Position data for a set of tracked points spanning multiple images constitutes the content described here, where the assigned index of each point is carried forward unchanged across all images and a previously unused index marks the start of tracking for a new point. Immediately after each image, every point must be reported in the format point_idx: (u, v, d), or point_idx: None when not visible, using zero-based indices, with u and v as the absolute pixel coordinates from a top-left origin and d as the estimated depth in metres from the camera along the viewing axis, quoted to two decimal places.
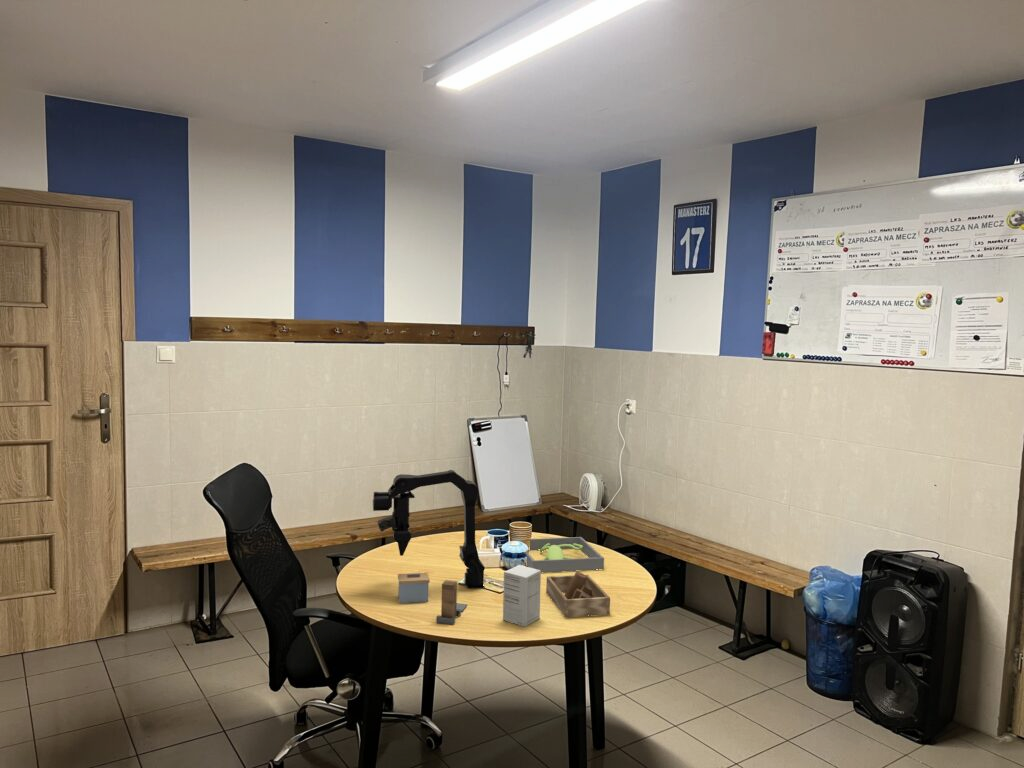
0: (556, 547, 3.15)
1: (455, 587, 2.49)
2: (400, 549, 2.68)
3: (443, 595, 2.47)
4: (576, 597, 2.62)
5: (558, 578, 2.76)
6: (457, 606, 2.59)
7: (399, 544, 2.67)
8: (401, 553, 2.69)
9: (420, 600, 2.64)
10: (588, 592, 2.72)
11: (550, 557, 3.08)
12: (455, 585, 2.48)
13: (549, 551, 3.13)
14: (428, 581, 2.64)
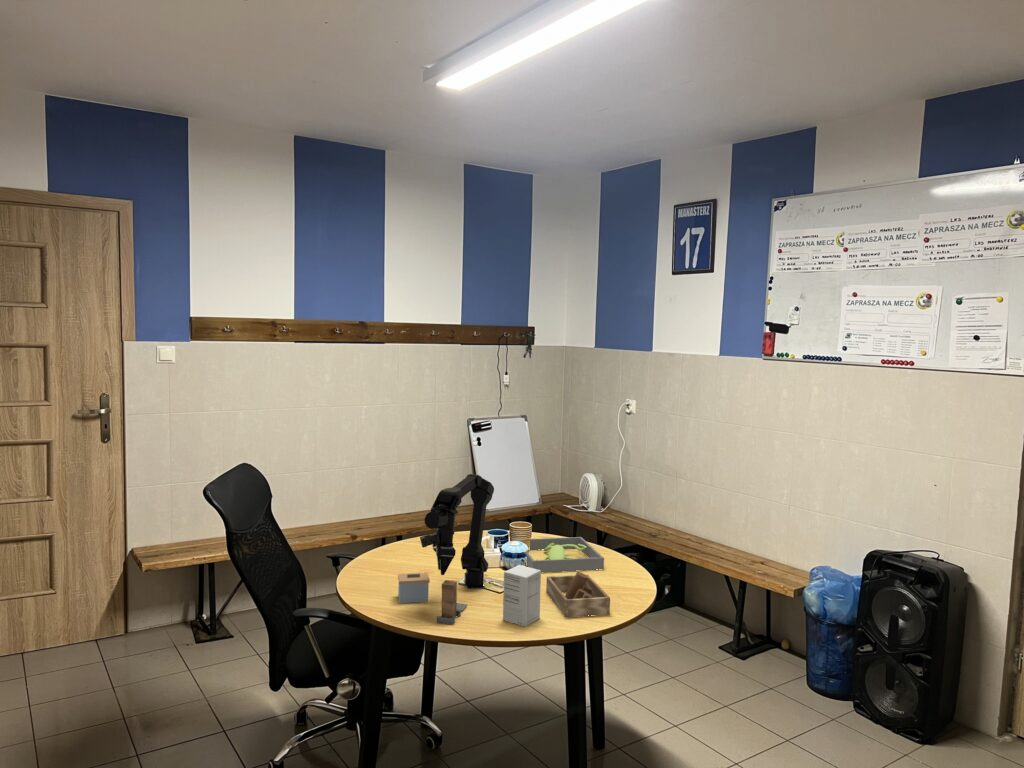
0: (558, 547, 3.16)
1: (455, 587, 2.49)
2: (442, 568, 2.53)
3: (443, 595, 2.47)
4: (579, 597, 2.62)
5: (558, 578, 2.76)
6: (457, 606, 2.59)
7: (441, 562, 2.52)
8: (442, 572, 2.53)
9: (420, 600, 2.64)
10: (588, 592, 2.72)
11: (551, 556, 3.08)
12: (455, 585, 2.48)
13: (551, 550, 3.13)
14: (428, 581, 2.64)
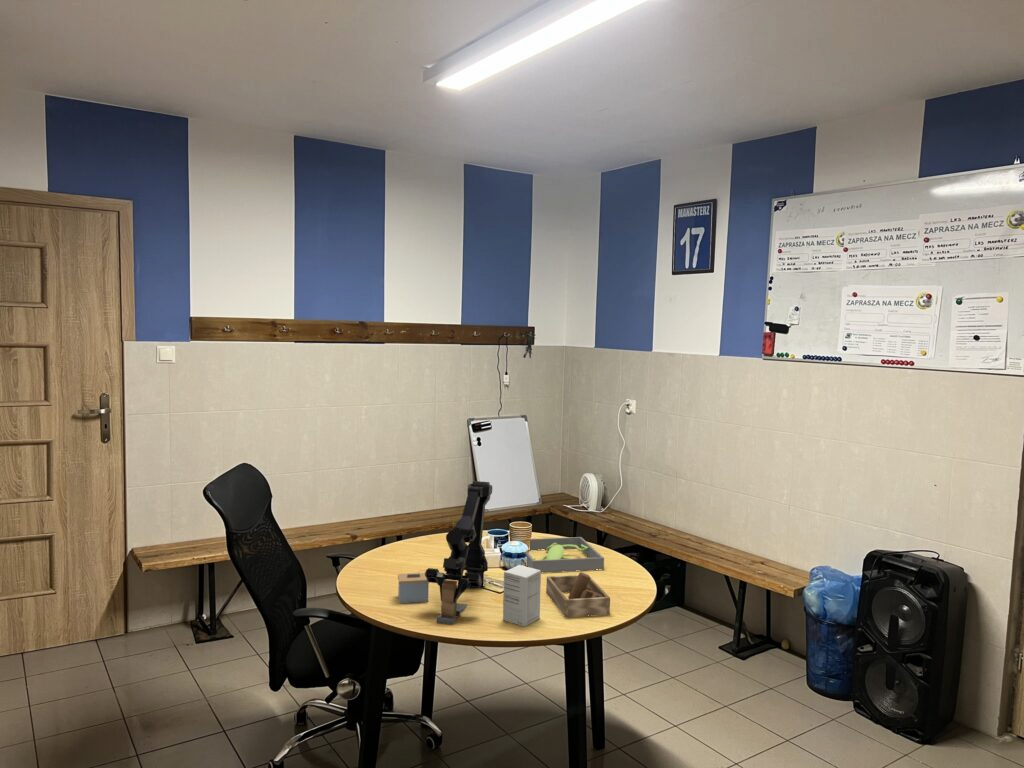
0: (558, 547, 3.16)
1: (455, 587, 2.49)
2: (458, 594, 2.48)
3: (443, 595, 2.47)
4: None
5: (558, 578, 2.76)
6: (457, 606, 2.59)
7: (460, 588, 2.49)
8: (456, 599, 2.48)
9: (420, 600, 2.64)
10: None
11: (548, 556, 3.09)
12: (455, 585, 2.48)
13: (550, 550, 3.14)
14: None
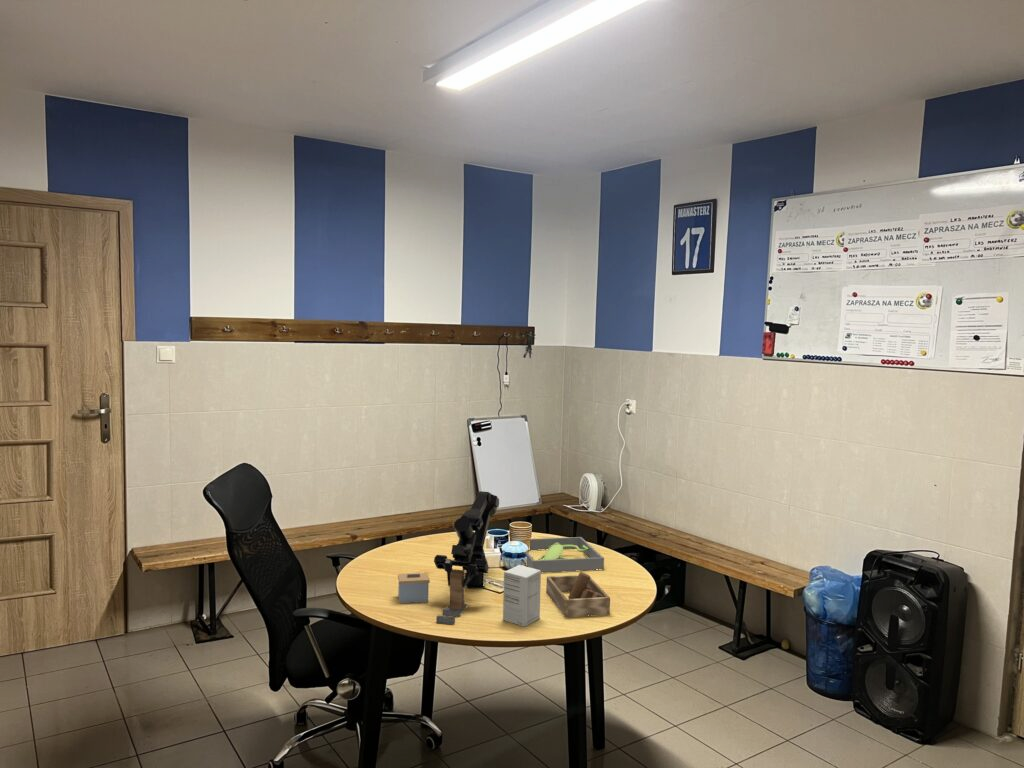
0: (558, 546, 3.17)
1: (463, 576, 2.58)
2: (467, 580, 2.57)
3: (451, 584, 2.56)
4: (587, 597, 2.62)
5: (558, 578, 2.76)
6: None
7: (469, 574, 2.58)
8: (465, 584, 2.57)
9: (420, 600, 2.64)
10: None
11: (545, 555, 3.10)
12: (463, 574, 2.58)
13: (549, 549, 3.15)
14: (428, 581, 2.64)
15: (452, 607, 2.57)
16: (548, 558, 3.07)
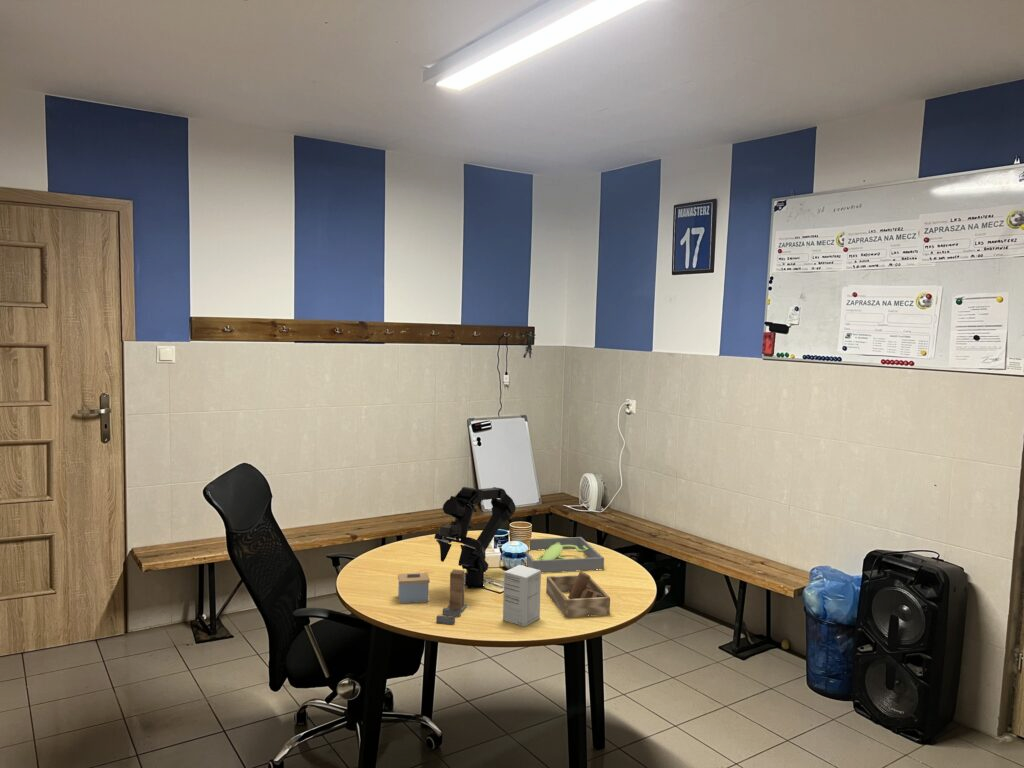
0: (557, 546, 3.17)
1: (463, 576, 2.58)
2: (462, 558, 2.65)
3: (451, 584, 2.56)
4: (587, 597, 2.62)
5: (558, 578, 2.76)
6: None
7: (464, 553, 2.65)
8: (461, 563, 2.65)
9: (420, 600, 2.64)
10: None
11: (544, 554, 3.11)
12: (463, 574, 2.58)
13: (548, 549, 3.15)
14: (428, 581, 2.64)
15: (452, 607, 2.57)
16: (546, 558, 3.07)
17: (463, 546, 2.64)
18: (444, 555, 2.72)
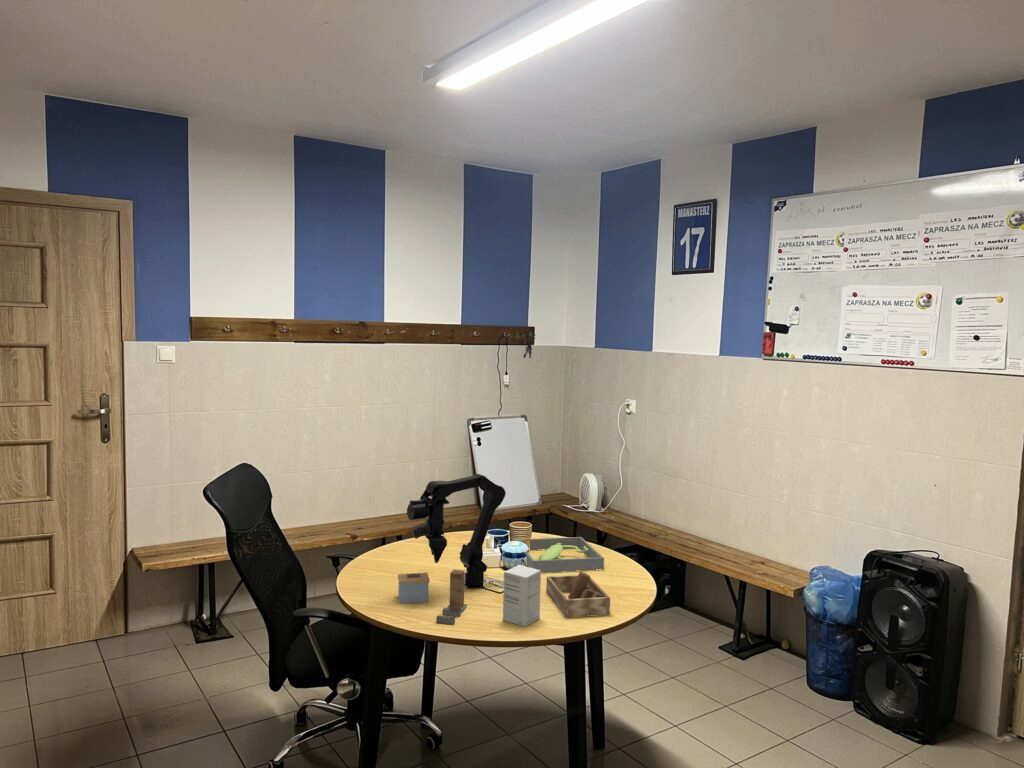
0: (557, 546, 3.16)
1: (463, 576, 2.58)
2: (435, 556, 2.66)
3: (451, 584, 2.56)
4: (587, 597, 2.62)
5: (558, 578, 2.76)
6: None
7: (434, 551, 2.65)
8: (436, 560, 2.66)
9: (420, 600, 2.64)
10: None
11: (543, 554, 3.11)
12: (463, 574, 2.58)
13: (547, 549, 3.15)
14: (428, 581, 2.64)
15: (452, 607, 2.57)
16: (544, 558, 3.07)
17: (429, 546, 2.64)
18: None
